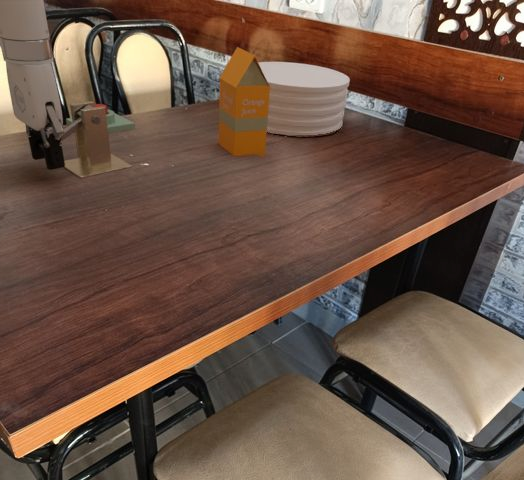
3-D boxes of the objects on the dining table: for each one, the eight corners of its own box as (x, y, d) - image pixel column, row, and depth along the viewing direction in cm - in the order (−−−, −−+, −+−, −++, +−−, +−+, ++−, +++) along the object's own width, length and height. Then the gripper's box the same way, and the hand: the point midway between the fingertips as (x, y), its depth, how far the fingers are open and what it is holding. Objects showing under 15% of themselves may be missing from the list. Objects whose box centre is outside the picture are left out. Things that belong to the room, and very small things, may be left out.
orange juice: (248, 144, 118) (253, 46, 106) (265, 157, 113) (273, 55, 100) (217, 147, 115) (219, 46, 103) (233, 160, 109) (237, 55, 97)
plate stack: (362, 126, 137) (371, 79, 130) (294, 144, 121) (300, 92, 113) (286, 101, 151) (290, 58, 144) (216, 115, 135) (217, 67, 128)
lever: (53, 159, 90) (45, 148, 89) (40, 151, 93) (32, 140, 91) (104, 121, 93) (98, 109, 91) (91, 114, 96) (84, 102, 94)
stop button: (96, 117, 114) (95, 109, 113) (88, 113, 116) (87, 105, 115) (110, 115, 116) (109, 107, 115) (102, 111, 118) (101, 103, 117)
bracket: (81, 183, 94) (70, 116, 87) (59, 168, 99) (47, 103, 92) (132, 171, 100) (127, 108, 93) (109, 157, 105) (102, 96, 98)
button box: (88, 140, 112) (86, 122, 110) (67, 128, 117) (64, 110, 115) (135, 132, 119) (134, 114, 116) (113, 121, 124) (111, 103, 122)
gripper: (-18, 41, 84) (9, 152, 95) (26, 62, 75) (50, 182, 86) (27, 39, 88) (47, 146, 99) (74, 59, 79) (90, 174, 90)
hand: (48, 162), depth 93 cm, fingers closed on lever, 5 cm apart
